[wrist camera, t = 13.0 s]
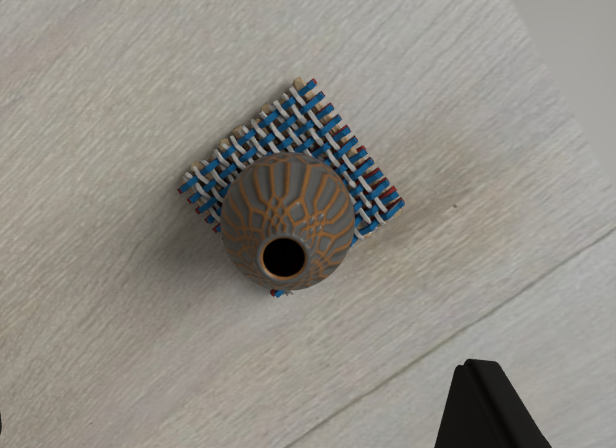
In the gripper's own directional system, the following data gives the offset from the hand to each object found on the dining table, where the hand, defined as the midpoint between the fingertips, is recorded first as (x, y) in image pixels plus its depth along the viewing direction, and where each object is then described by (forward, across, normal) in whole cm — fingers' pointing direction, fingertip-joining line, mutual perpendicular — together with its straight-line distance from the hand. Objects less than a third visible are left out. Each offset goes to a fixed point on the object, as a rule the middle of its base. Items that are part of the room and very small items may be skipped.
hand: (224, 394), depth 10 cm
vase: (+20, -1, +2) cm, 20 cm away
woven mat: (+22, -1, +2) cm, 22 cm away
